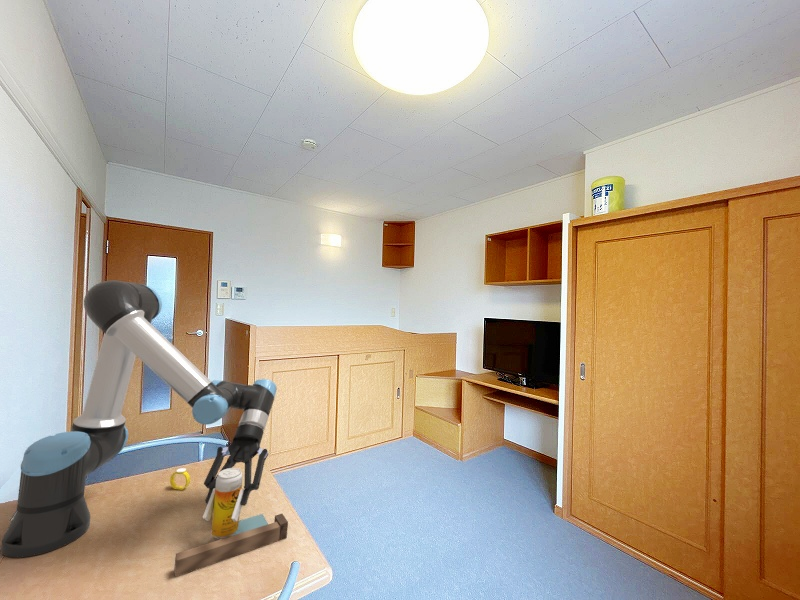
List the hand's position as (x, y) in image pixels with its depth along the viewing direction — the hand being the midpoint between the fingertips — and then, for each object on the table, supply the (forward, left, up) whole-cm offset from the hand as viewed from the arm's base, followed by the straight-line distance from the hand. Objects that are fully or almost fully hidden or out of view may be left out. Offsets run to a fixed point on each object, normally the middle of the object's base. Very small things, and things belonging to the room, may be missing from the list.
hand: (220, 519), depth 82 cm
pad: (+8, +5, -7) cm, 12 cm away
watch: (-5, +37, -8) cm, 38 cm away
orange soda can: (+2, +3, -6) cm, 7 cm away
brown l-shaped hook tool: (+3, -2, -7) cm, 8 cm away
